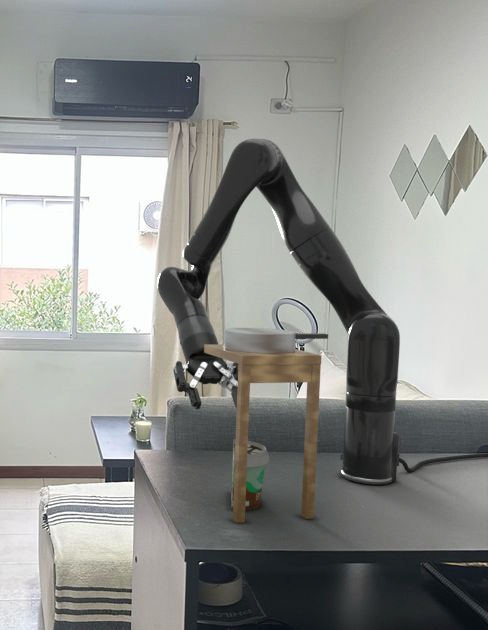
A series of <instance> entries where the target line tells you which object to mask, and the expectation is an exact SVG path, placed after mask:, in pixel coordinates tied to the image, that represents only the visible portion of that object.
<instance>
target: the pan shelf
mask: <svg viewBox="0 0 488 630" xmlns="http://www.w3.org/2000/svg"><path fill="white" fill-rule="evenodd" d="M327 339H329V334H328V333H322V332H318V333H316V332H313V333H310V332H309V333H308V332H307V333H303V332H302V333H299V332H298V333H297V332H296V331H294V330H287V329H278V328H264V327H229V328H224V330H223V344H219V343H218V344H205V345H204V353H207V354H210V355H213V356H216V357H219V358H222V359H223V360H226V361H229V362H231V363H234V362H235V363H238V390H237V408H236V416H235V417H236V420H235V422H236V423H235V439H236V443H235V470H234V496H233V510H232V521H234V523H236V524H240V523H242V524H243V523H245V522H246V510H245V501H246V475H247V450H248V441H249V423H250V422H249V419H250V397H251V395H250V394H251V384H283V383H284V384H285V383H289V384H290V383H291V384H292V383H293V384H295V383H297V384H298V383H306V400H305V401H306V402H305V421H304V422H305V423H304V427H305V428H304V442H303V443H304V444H303V445H304V447H303V465H302V466H303V467H302V491H301V509H300V510H301V512H300V513H301V514H300V516H301V517H302V518H303V519H305V520H313V519H314V518H315V501H316V500H315V499H316V498H315V497H316V480H317V479H316V477H317V476H316V475H317V456H318V455H317V452H318V435H319V411H320V388H321V371H322V370H321V369H322V368H321V367H322V357H323V356H322V355H321V354H318V353H313V352H309V351H305V350H302V349H301V350H300V349H297V348H296V340H327Z"/></svg>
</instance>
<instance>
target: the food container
mask: <svg viewBox="0 0 488 630" xmlns="http://www.w3.org/2000/svg"><path fill="white" fill-rule="evenodd" d="M235 443H236V438H233V439H232V462H231V463H232V466H231V487H230V489H231V495H230V496H231V498H230V499H231V511H233V496H234V470H235ZM269 462H270V457H269V452H268V450H267V448H266V446H265V445H263V444H260V443H259V442H256V441H255V442H254V441H250V440H248V450H247V475H246V501H245V511H250V510H251V511H252V510H256V509H257V508H259V507H260V506H261V503H262V492H263V483H264V476H265V475H264V474H265V468H266V467H265V466H266V465H267V464H269Z"/></svg>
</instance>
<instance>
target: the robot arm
mask: <svg viewBox="0 0 488 630" xmlns="http://www.w3.org/2000/svg"><path fill="white" fill-rule="evenodd" d="M255 189H256V190H258V191H259V193H260V194H261V195H262V196H263V198H264V199H265V200H266V202H267V204H268V205H269V206H270V208H271V210H272V212H273V214H274V216H275V217H274V218H275V219H276V223H277V227H278V229H279V232H280V235H281V238H282V240H283V242H284V245H285V246H286V248H287V250H288V252H289V253H290V255H291V256H292V258H293V260H294V261H295V262H296V264H297V266H298V267H299V268H300V270H301V271H302V273H303V274H304V276H306V278H307V279H308V280H309V281H310V282H311V284H312V285H313V286H314V287H315V288H316V289H317V290H318V291H319V292H320V293H321V295H323V296H324V298H325V299H326V300H327V301H328V302H329V303H330V304H331V306H332V308H333V309H334V311H335V313H336V315H337V317H338V318H339V320H340V322H341V323H342V325H343V327H344V329H345V331H346V334H347V354H346V355H347V357H346V358H347V359H346V374H345V375H346V380H345V381H346V383H345V403H344V404H345V406H344V423H343V424H344V426H343V443H342V445H343V446H342V447H343V448H342V454H340V461H342V465H341V468H342V469H341V474H340V475H341V477H342V478H344V479H346V480H348V481H350V482H354V483H359V484H365V485H378V486H380V485H388V484H391V483H392V482H397V471H398V467H399V466H400V464H401V465H402V467H403V469H404V471H406V472H408V473H413V472H415V471H417V470H419V468H421V467H423V466H424V465H429V464H433V463H441V462H450V461H457V460H458V461H459V460H468V459H479V458H480V459H482V458H488V452H483V453H471V454H459V455H451V456H443V457H435V458H429V459H424V460H420V461H419V462H417V463H416V464H414V466H413V467H410V466H409V465H408V463H407V461H405V460H404V459H403V458H402V457H400V453H399V434H398V432H396V431H395V425H396V423H395V422H396V405H397V404H396V403H397V390H398V389H397V387H398V382H399V381H398V380H399V365H400V364H399V363H400V348H401V334H400V329H399V327H398V325H397V324H396V322H395V321H394V319H393V318H392V317H391V316H390V315H388V314H387V313H386V311H385V310H384V309H383V308H382V307H381V306H380V304H378V302H377V301H376V299H375V298H374V297H373V296H372V294H371V293H370V292H369V291H368V289H367V288H366V287H365V285H364V283H363V281H362V280H361V278H360V276H359V273H358V272H357V270H356V268H355V266H354V263H353V262H352V260H351V258H350V255H349V254H348V253H347V250H346V249H345V247H344V245H343V243H342V242H341V241H340V238H338V236H337V235H336V233H335V231H334V230H333V228H332V227H331V226H330V225H329V223H328V222H327V221H326V219H325V218H324V216H323V215H322V214H321V212H320V211H319V209H318V207H316V205H315V204H314V202H313V201H312V200H311V199H310V197H309V196H308V195H307V194H306V193H305V191H304V190H303V188H302V186H301V185H300V183H299V181H298V180H297V178H296V176H295V174H294V172H293V170H292V168H291V167H290V164H289V163H288V161H287V159H286V157H285V154H284V152H283V151H282V150H281V149H280V147H279V146H278V144H277V143H275V142H274V141H272V140H270V139H267V138H248V139H245V140H242V141H240V142H239V143H238V144H237V145H236V146H235V147H234V149H233V150H232V152H231V154H230V156H229V159H228V161H227V163H226V166H225V169H224V172H223V174H222V176H221V179H220V182H219V184H218V186H217V188H216V191H215V192H214V195H213V197H212V199H211V201H210V203H209V205H208V207H207V209H206V211H205V213H204V215H203V216H202V218H201V220H200V221H199V223H198V225H197V226H196V228H195V229H194V232H193V233H192V234H191V236H190V238H189V240H188V241H187V243H186V245H185V246H184V248H183V251H182V257H183V259H184V260H185V261H186V263H188V264H189V265H191V266H192V267H191V270H187V269H183V268H179V267H177V266H167V267H165V268H164V269H162V270H161V272H160V273H159V275H158V277H157V283H156V287H157V292H158V294H159V296H160V298H161V299H162V301H163V303H164V305H165V306H166V308H167V309H168V311H169V312H170V313H171V315H172V317H173V319H174V322H175V326H176V330H177V335H178V340H179V345H180V347H181V350H182V353H183V357H184V361H185V363H182V361H181V360H177V361H176V362H175V365H174V367H173V369H172V371H173V376H174V381H175V385H176V390H177V392H179V393H183V392H185V393H186V394H187V395H188V398H189V402H190V405H191V407H193V408H194V410H200V409H201V408H202V407H201V406H202V399H201V396H200V393H199V390H198V385H199V383H200V384H202V385H208V384H209V385H210V384H211V385H217V384H218V385H219V386H221V387H222V388H224V389H227V390H228V391H229V392H231V393H230V395H231V399H232V401H233V404H234V407H235V409H237V390H238V363H235V362H230V363H227V362H226V361H224V360H225V359H222V358H219V357H216V356H213V355H210V354H207V353H204V345H205V344H219V341H218V338H217V335H216V332H215V329H214V327H213V325H212V323H211V321H210V319H209V315H208V313H207V309H206V307H205V304H204V303H203V302H202V301H201V300H200V299H201V298H202V296H203V295H204V293H205V290H206V287H207V283H208V280H209V277H210V273H211V270H212V266H213V264H214V262H215V261H216V259H217V257H218V256H219V254H220V252H221V251H222V249H223V248H224V246H225V244H226V242H227V240H228V239H229V237H230V234H231V232H232V229H233V227H234V223H235V220H236V218H237V216H238V213H239V212H240V209H241V207H242V206H243V204H244V203H245V201H246V200H247V198H248V197H249V195H250V194H251V193H252V192H253V191H254V190H255ZM186 372H187V373H188V374H190V376H191V377H193V378H191V381H190V383H189V382H187V379H186V376H185V373H186ZM223 377H224V378H223Z"/></svg>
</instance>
